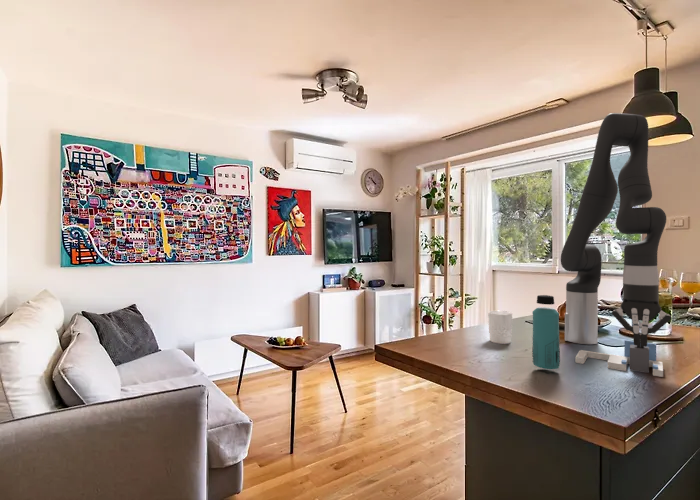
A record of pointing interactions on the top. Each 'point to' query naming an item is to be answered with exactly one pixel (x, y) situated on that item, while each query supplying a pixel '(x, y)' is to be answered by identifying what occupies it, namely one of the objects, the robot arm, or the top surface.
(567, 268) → the robot arm
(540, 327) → the beverage bottle
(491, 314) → the white cup
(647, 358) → the plug
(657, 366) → the white prong rack
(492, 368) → the top surface
